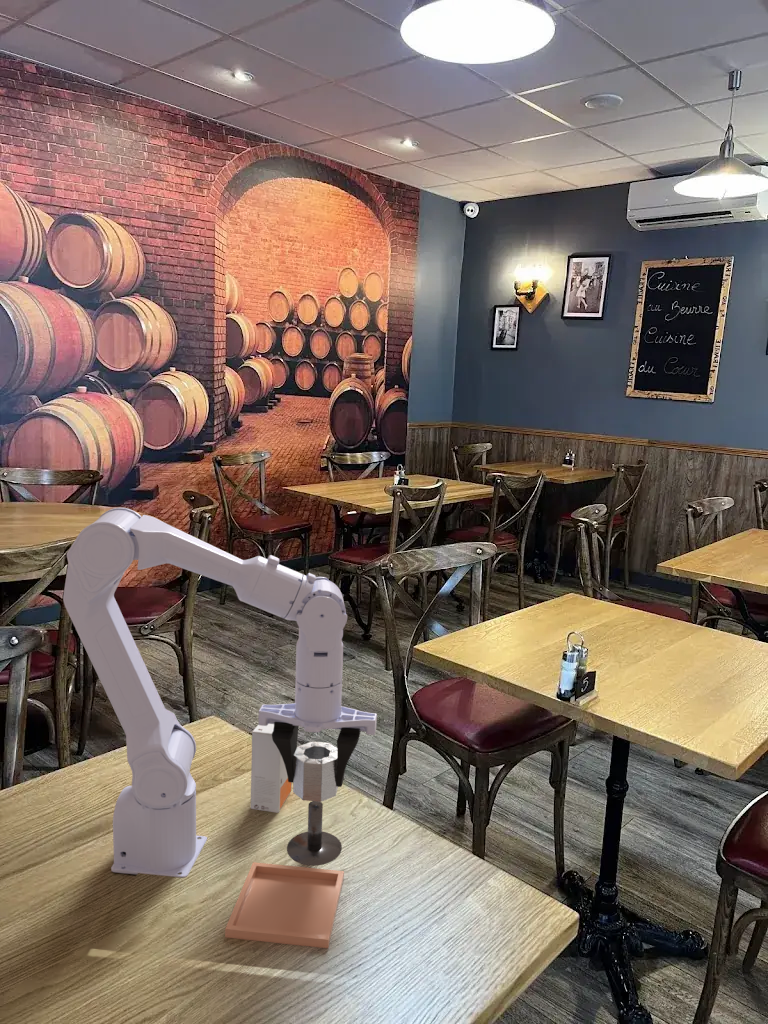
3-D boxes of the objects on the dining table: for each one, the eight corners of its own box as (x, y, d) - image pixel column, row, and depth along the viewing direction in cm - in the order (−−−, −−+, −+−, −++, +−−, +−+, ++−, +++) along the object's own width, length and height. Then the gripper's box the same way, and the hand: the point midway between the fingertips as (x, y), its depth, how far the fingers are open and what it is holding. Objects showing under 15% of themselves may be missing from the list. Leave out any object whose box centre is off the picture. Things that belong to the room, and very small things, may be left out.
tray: (225, 941, 80) (225, 928, 80) (252, 873, 91) (252, 862, 91) (328, 952, 79) (328, 939, 79) (343, 882, 90) (344, 871, 90)
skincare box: (279, 816, 103) (280, 735, 101) (249, 811, 104) (250, 731, 102) (293, 792, 109) (294, 716, 107) (265, 788, 110) (266, 712, 108)
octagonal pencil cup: (290, 799, 92) (291, 761, 91) (299, 776, 97) (300, 740, 96) (333, 803, 92) (334, 765, 91) (340, 779, 97) (341, 743, 96)
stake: (281, 865, 93) (282, 818, 92) (293, 831, 100) (294, 787, 99) (337, 871, 92) (338, 823, 91) (345, 836, 99) (346, 792, 98)
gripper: (252, 687, 88) (251, 792, 91) (374, 697, 87) (369, 803, 90) (267, 664, 95) (265, 763, 98) (380, 673, 94) (375, 772, 97)
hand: (316, 780), depth 94 cm, fingers closed on octagonal pencil cup, 5 cm apart
